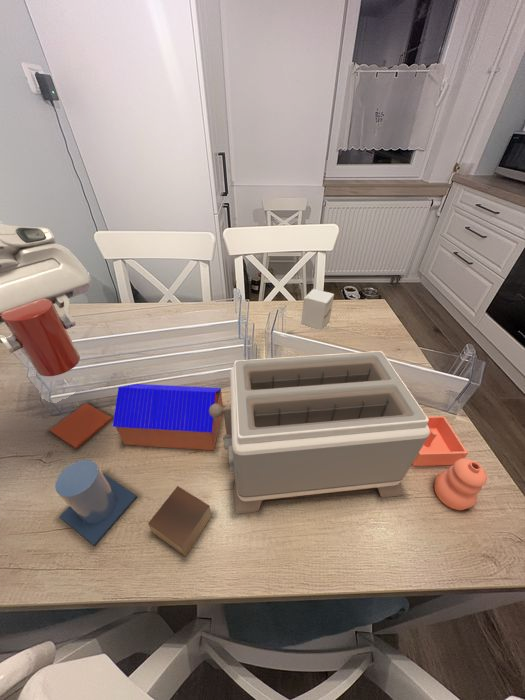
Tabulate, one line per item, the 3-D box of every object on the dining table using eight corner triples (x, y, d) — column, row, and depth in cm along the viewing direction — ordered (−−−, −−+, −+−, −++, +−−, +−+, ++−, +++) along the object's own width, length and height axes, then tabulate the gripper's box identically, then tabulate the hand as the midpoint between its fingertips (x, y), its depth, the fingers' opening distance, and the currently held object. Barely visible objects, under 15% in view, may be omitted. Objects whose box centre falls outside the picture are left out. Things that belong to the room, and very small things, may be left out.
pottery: (395, 428, 66) (409, 399, 60) (436, 427, 66) (454, 398, 60) (435, 512, 52) (458, 485, 46) (487, 511, 52) (517, 484, 46)
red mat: (76, 448, 62) (75, 447, 61) (50, 431, 65) (49, 430, 65) (112, 418, 68) (111, 417, 67) (86, 404, 71) (85, 402, 71)
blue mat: (94, 546, 48) (93, 545, 47) (60, 517, 51) (59, 516, 51) (137, 497, 54) (136, 495, 53) (104, 474, 57) (103, 473, 57)
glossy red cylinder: (52, 381, 43) (16, 325, 37) (28, 368, 45) (-9, 313, 39) (88, 358, 47) (61, 304, 41) (65, 347, 49) (36, 294, 43)
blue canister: (95, 531, 49) (71, 504, 43) (72, 512, 51) (46, 484, 45) (124, 498, 53) (106, 470, 47) (102, 483, 55) (81, 453, 49)
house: (215, 451, 61) (209, 416, 54) (122, 445, 62) (104, 410, 55) (224, 407, 71) (220, 372, 63) (143, 403, 72) (130, 367, 64)
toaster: (218, 426, 66) (208, 357, 54) (363, 413, 69) (386, 345, 57) (217, 516, 51) (203, 450, 39) (402, 495, 54) (446, 427, 42)
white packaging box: (320, 338, 93) (326, 303, 85) (299, 331, 96) (303, 297, 88) (329, 327, 98) (335, 293, 90) (308, 321, 101) (312, 287, 93)
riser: (185, 556, 47) (181, 547, 44) (153, 533, 49) (147, 523, 47) (212, 515, 51) (209, 505, 49) (181, 496, 54) (177, 485, 51)
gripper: (-134, 267, 32) (-54, 370, 34) (60, 225, 45) (113, 302, 46) (-108, 291, 37) (-39, 380, 39) (60, 248, 50) (108, 316, 51)
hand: (45, 337), depth 43 cm, fingers closed on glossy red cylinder, 6 cm apart
